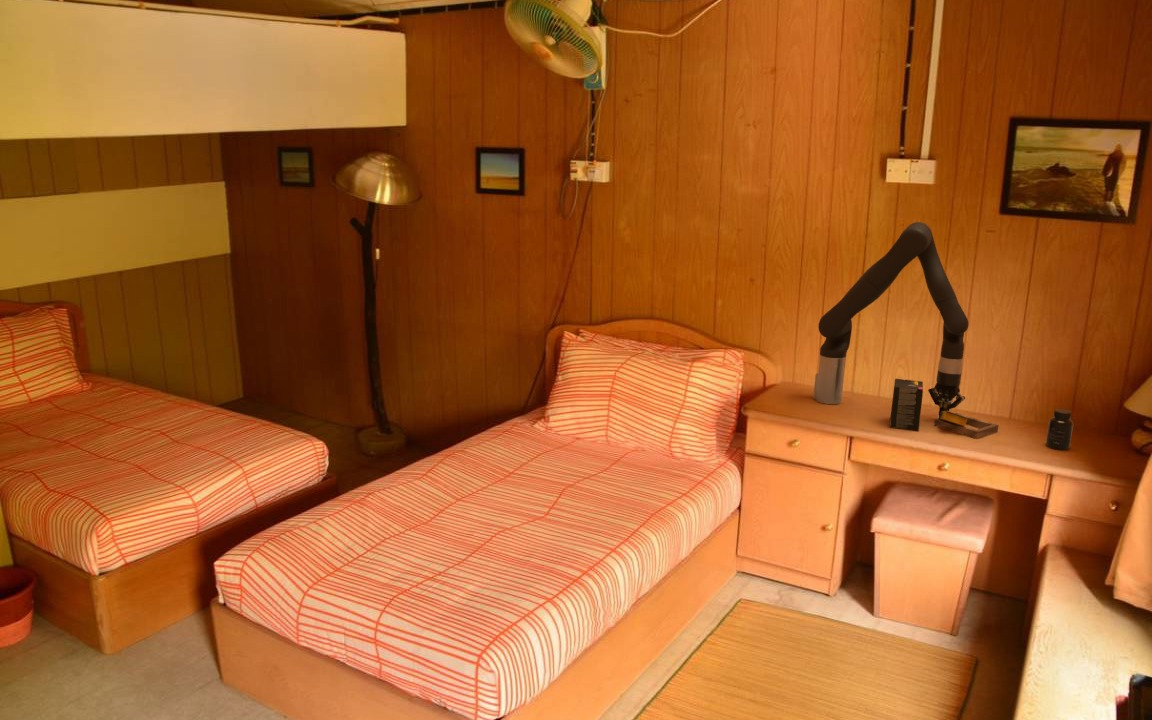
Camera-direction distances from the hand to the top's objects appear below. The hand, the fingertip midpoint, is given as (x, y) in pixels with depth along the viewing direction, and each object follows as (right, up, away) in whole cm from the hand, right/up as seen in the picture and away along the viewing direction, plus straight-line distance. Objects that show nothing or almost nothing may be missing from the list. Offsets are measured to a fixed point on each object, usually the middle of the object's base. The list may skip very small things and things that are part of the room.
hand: (943, 418), depth 314 cm
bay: (+4, -3, -6) cm, 8 cm away
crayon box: (+1, 0, -3) cm, 3 cm away
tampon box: (-15, -2, -4) cm, 15 cm away
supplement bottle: (+28, -8, -22) cm, 36 cm away
